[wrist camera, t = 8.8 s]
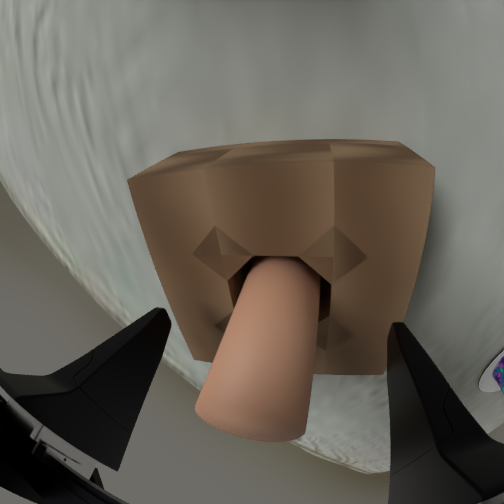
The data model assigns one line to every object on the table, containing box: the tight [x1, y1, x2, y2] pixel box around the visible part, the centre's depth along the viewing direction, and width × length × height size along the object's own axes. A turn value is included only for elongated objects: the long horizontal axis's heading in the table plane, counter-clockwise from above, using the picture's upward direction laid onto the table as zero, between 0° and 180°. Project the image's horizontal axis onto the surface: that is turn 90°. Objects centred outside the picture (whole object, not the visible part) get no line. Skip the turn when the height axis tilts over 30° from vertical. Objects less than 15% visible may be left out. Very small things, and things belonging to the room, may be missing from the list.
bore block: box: [127, 139, 435, 375], centre depth 13 cm, size 11×11×4 cm
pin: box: [195, 256, 321, 442], centre depth 10 cm, size 3×3×9 cm
